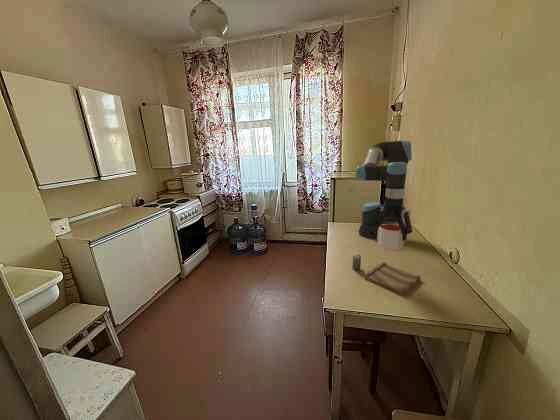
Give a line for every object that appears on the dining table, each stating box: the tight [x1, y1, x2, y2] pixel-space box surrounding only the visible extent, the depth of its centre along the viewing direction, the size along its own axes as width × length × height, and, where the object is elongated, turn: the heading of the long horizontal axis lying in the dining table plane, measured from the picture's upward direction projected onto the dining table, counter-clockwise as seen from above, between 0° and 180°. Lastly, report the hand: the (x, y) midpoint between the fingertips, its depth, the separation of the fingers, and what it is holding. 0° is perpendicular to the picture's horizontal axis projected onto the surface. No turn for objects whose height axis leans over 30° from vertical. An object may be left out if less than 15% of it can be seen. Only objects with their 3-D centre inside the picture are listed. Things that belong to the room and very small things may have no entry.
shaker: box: [351, 252, 362, 272], centre depth 118 cm, size 4×4×9 cm
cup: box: [378, 223, 402, 251], centre depth 106 cm, size 10×10×10 cm
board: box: [364, 262, 422, 297], centre depth 108 cm, size 18×18×2 cm
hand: (389, 243), depth 107 cm, fingers closed on cup, 10 cm apart
